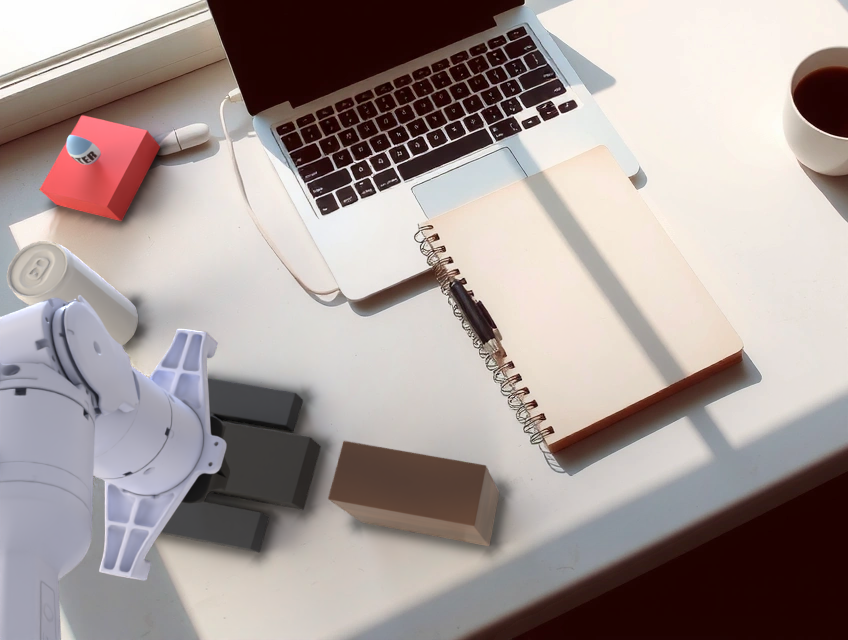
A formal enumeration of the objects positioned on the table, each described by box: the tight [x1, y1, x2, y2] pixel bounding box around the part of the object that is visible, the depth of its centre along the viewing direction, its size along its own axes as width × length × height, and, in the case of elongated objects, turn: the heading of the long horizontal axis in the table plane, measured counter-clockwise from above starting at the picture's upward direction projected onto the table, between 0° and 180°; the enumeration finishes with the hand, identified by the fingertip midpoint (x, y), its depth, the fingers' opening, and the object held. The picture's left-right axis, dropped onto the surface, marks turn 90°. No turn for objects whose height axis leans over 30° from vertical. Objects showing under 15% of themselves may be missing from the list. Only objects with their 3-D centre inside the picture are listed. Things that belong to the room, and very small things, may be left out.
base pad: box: [160, 377, 304, 553], centre depth 72 cm, size 12×10×2 cm
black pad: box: [208, 421, 322, 511], centre depth 71 cm, size 5×8×3 cm, turn 79°
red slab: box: [39, 114, 161, 222], centre depth 82 cm, size 8×7×6 cm
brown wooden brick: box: [327, 440, 500, 547], centre depth 66 cm, size 4×10×10 cm, turn 79°
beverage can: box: [6, 240, 139, 347], centre depth 73 cm, size 5×5×12 cm
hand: (214, 478), depth 63 cm, fingers closed
